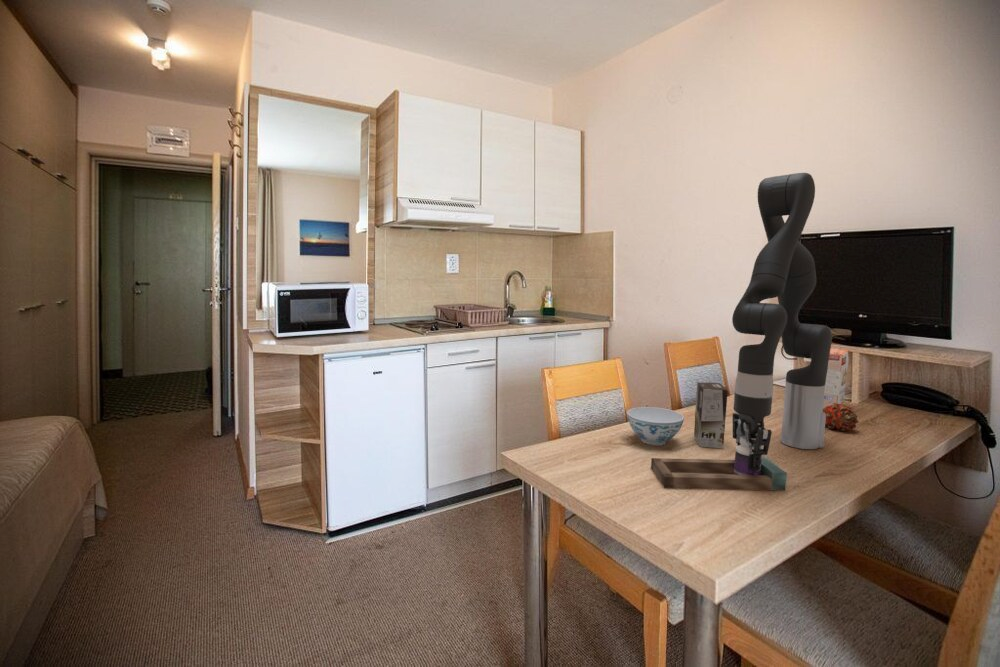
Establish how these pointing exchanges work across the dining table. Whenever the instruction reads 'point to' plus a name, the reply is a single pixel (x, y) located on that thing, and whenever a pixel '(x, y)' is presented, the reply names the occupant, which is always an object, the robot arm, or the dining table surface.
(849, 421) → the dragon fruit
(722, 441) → the coffee box
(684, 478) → the channel
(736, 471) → the pill bottle
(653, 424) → the chinaware
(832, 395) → the cracker box
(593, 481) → the dining table surface
